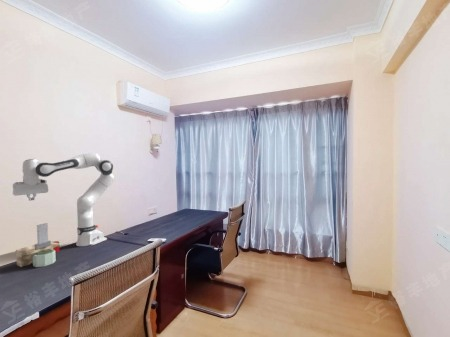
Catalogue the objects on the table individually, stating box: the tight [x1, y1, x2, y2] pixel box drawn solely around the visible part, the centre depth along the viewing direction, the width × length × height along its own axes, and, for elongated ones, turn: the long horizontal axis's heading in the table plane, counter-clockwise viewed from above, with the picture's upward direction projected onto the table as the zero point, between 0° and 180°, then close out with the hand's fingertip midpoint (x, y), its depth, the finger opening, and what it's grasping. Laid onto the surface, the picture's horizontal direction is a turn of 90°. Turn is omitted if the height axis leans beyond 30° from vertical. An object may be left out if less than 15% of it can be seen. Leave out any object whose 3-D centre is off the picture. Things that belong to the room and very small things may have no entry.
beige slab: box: [15, 241, 60, 268], centre depth 151 cm, size 18×14×10 cm
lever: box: [53, 240, 60, 254], centre depth 165 cm, size 18×9×7 cm, turn 169°
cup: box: [32, 249, 57, 268], centre depth 148 cm, size 11×11×7 cm
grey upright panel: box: [34, 222, 52, 249], centre depth 148 cm, size 8×2×15 cm, turn 153°
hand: (31, 200), depth 166 cm, fingers closed
